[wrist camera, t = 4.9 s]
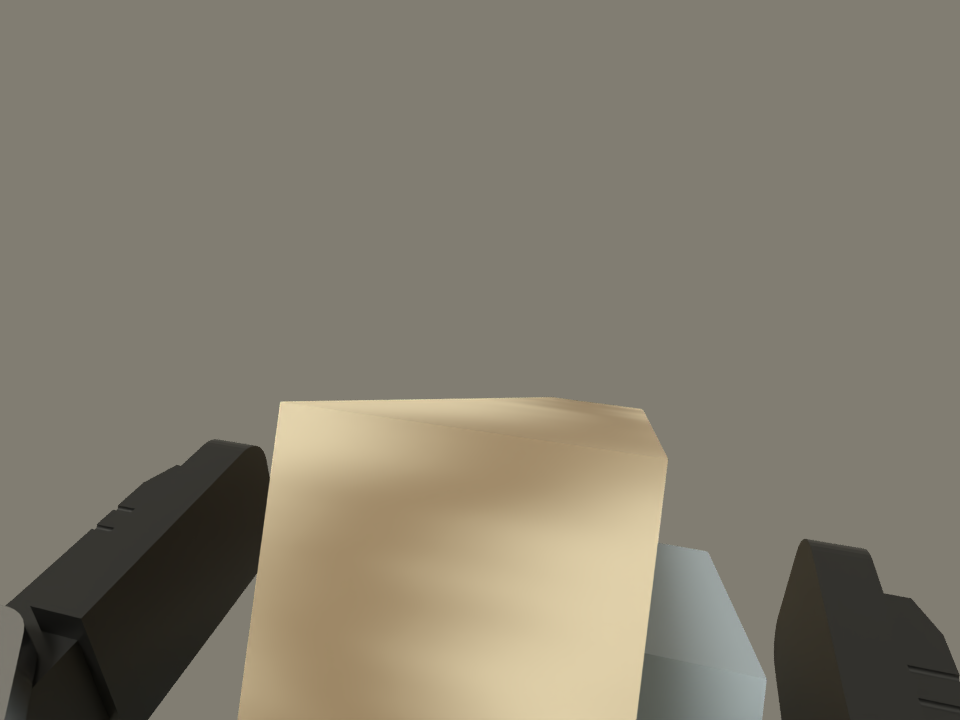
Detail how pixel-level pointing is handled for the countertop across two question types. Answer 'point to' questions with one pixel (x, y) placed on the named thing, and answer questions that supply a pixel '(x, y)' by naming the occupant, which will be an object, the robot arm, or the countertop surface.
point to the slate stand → (696, 646)
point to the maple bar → (455, 561)
